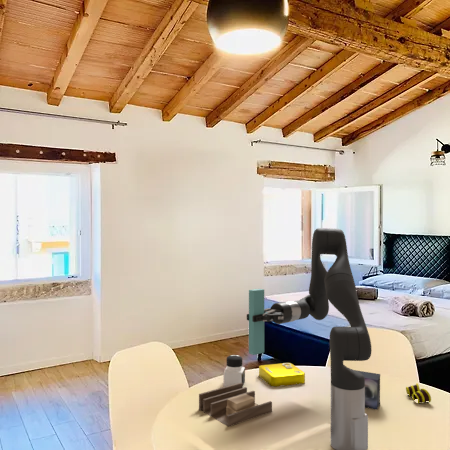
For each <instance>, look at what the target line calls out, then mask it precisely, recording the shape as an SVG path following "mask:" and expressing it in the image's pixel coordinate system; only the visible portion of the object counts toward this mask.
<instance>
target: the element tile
mask: <svg viewBox="0 0 450 450" xmlns="http://www.w3.org/2000/svg"><path fill="white" fill-rule="evenodd" d="M258 377H259V378H260V379H262V380H263V381H264V382H265V383H266V384H267V385H268V386H269V387H273V388H276V387H285V386H297V385H303V384H305V383H306V372H304V371H303V370H301V369H300V368H298V367H297V366H296V365H294V364H293V363H291V362H283V363H281V362H280V363H272V364H262V365H259V366H258Z"/></svg>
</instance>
